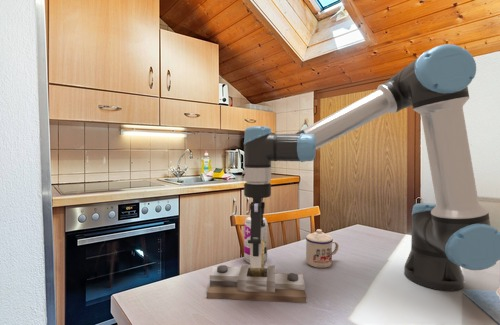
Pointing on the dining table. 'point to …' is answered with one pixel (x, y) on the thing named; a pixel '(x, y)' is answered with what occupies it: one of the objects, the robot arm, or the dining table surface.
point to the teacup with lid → (319, 249)
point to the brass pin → (260, 271)
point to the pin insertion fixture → (255, 285)
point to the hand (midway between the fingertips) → (257, 257)
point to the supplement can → (247, 237)
